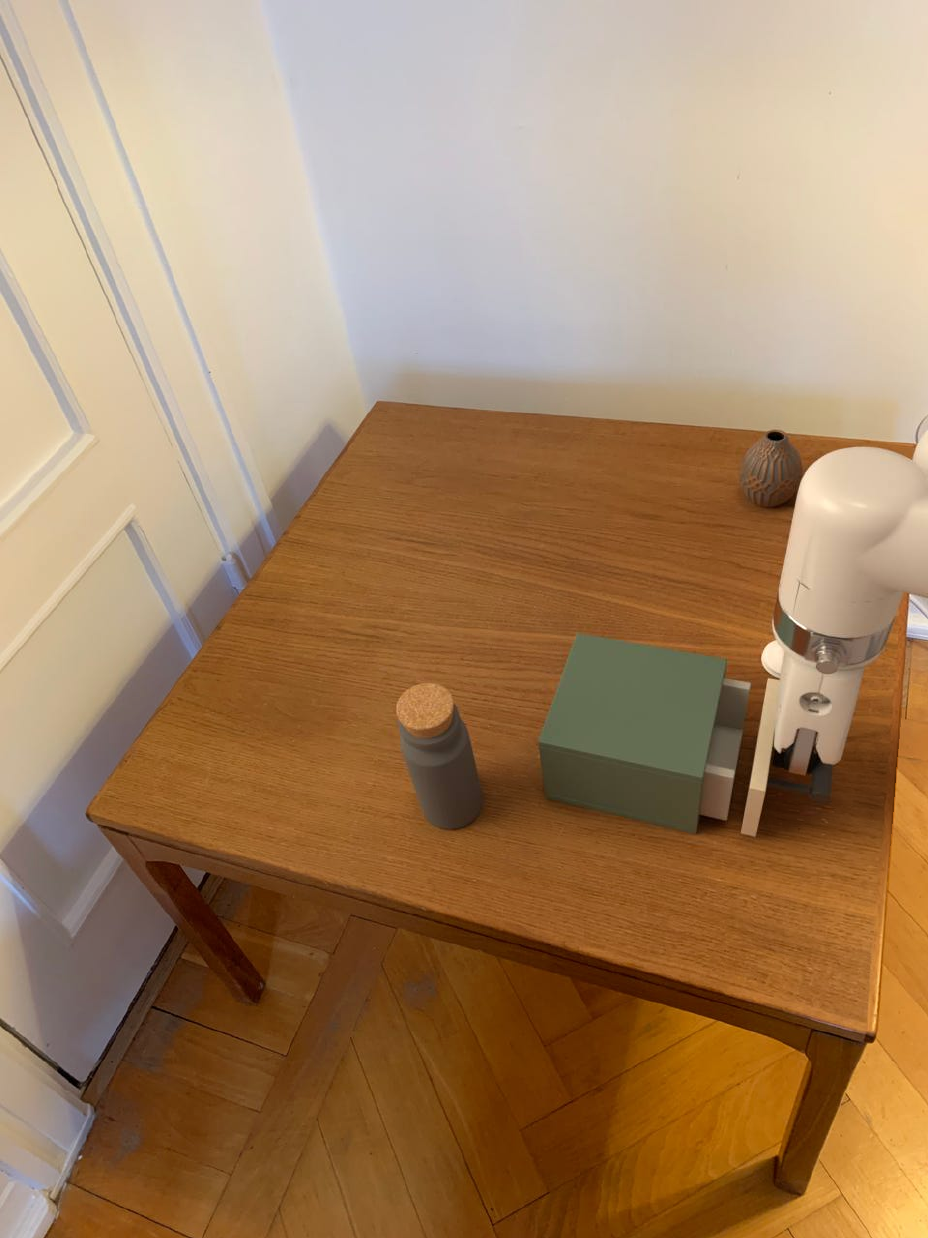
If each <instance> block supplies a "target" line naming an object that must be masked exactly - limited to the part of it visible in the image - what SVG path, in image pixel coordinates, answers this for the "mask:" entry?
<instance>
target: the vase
mask: <svg viewBox="0 0 928 1238" xmlns="http://www.w3.org/2000/svg"><path fill="white" fill-rule="evenodd" d="M802 478H803V462H802V458H801V455H800V452H799V451H798V448H796V446H795V445H794V444H793V443H792V442H791V441H790V439H789V437H788V434H787V433H786V432H785V431H783V430H781V429H770V430H768V431H766V432H765V433H764V435H763V436H762V437H761V438H760V439H759V440H757V441H756V442H755V443H753V444H752V445H751V446H750V447H749V448H748V449H747V450H746V452H745V453H744V455H743V457H742V460H741V462H740V464H739V470H738V481H739V487H740V489H741V492H742V494H743V496H745V498H746V499H747V500H748V501H749V502H751V503H752V504H754V505H755V506H758V507H762V508H773V507H777V506H780V505H782V504H784V503H787V501H789V500H790V499H791V498H792V497H793V496H794V495H795V494H796V493H797V491H798V489H799V486H800V483H801V480H802Z"/></svg>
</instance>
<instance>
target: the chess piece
mask: <svg viewBox="0 0 928 1238" xmlns="http://www.w3.org/2000/svg"><path fill="white" fill-rule="evenodd" d="M783 656H784V650H783V648H782V647H781V646H780V645H779V644H778V642H777V640H776V639H775V640H773V641H771V642H769V643H768V644H767V645H766V646H765V647H764V648H763V651H762V653H761V656H760V658H761V659H760V660H761V664H762V667H763V668H764V670H766V671H767V673H769V674H770V675H771V676H773V677H774V678H777V679H780V673H781V667H782V661H783Z"/></svg>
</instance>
